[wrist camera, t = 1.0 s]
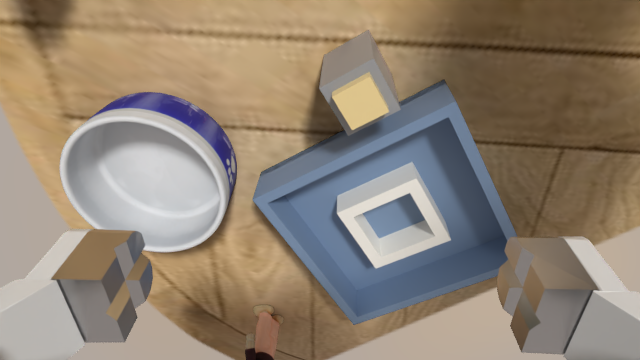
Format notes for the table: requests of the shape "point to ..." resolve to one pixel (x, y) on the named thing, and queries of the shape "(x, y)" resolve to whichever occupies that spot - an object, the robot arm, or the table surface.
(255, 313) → the grandmother figurine
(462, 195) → the walled tray
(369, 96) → the connector plug
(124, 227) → the dog bowl
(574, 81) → the table surface
